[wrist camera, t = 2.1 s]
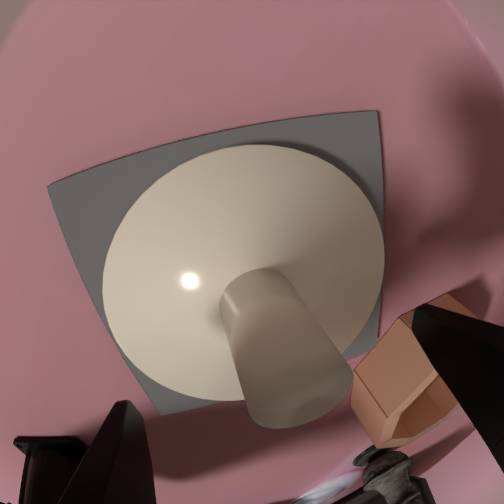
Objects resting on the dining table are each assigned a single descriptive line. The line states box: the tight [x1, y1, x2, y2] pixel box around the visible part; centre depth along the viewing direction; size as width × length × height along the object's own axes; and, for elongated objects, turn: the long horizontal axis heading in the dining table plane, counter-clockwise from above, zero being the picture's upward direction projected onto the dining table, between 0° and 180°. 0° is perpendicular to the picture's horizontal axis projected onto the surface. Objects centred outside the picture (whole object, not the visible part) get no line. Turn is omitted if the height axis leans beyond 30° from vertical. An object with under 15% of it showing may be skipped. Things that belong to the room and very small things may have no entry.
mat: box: [47, 111, 384, 416], centre depth 12 cm, size 12×12×1 cm
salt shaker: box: [353, 445, 423, 504], centre depth 19 cm, size 6×6×12 cm
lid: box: [102, 144, 385, 429], centre depth 9 cm, size 11×11×5 cm
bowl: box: [350, 293, 481, 449], centre depth 16 cm, size 10×10×4 cm
